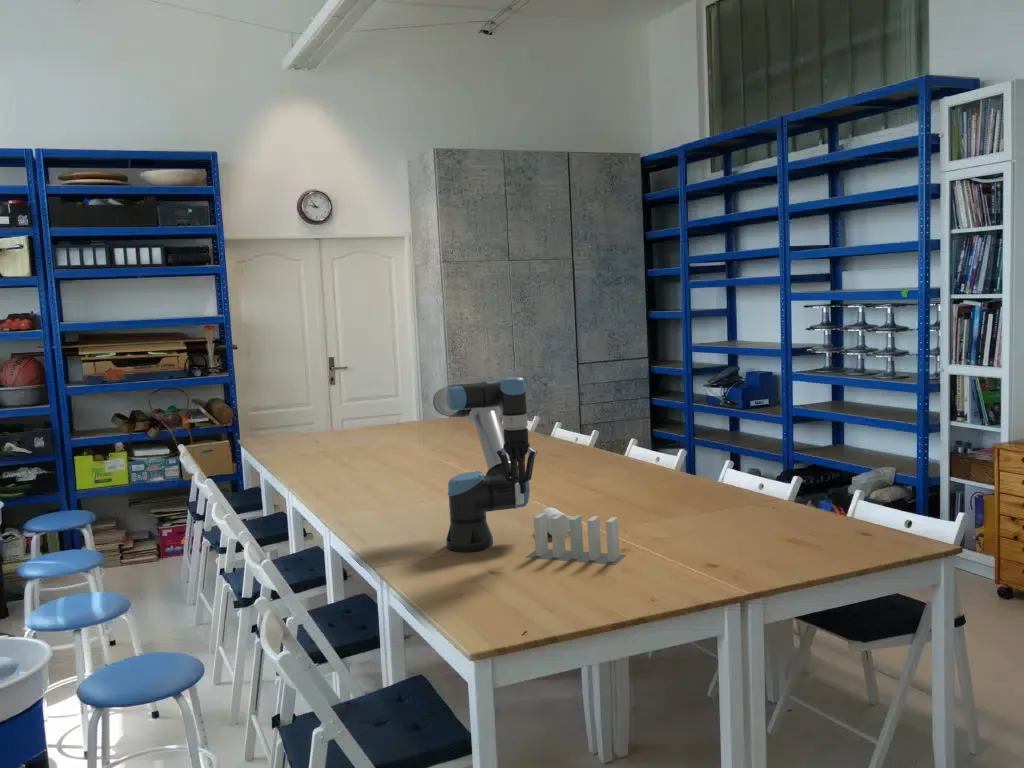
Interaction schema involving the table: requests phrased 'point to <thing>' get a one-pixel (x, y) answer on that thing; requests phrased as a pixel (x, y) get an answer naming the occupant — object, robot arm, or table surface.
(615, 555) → the tile
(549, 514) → the mug
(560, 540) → the tile
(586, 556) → the strip
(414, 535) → the table surface
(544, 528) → the tile
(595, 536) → the tile
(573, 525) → the tile
